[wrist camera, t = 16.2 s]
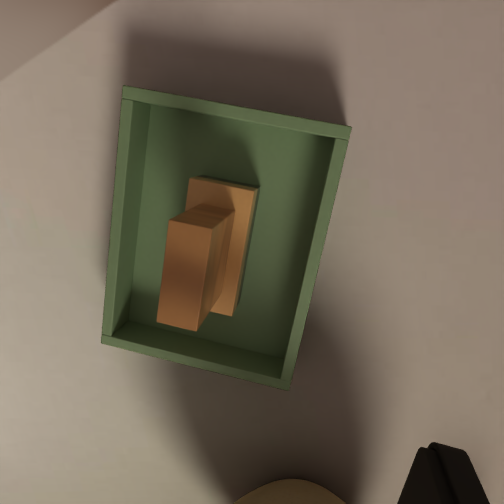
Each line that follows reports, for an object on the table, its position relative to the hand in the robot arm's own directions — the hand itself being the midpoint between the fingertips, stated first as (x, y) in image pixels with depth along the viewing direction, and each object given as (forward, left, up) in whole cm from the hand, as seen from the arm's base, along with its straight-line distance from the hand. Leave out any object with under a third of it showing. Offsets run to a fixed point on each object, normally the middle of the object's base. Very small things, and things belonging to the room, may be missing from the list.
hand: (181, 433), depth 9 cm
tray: (+2, -4, -23) cm, 24 cm away
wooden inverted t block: (+2, -4, -22) cm, 23 cm away
